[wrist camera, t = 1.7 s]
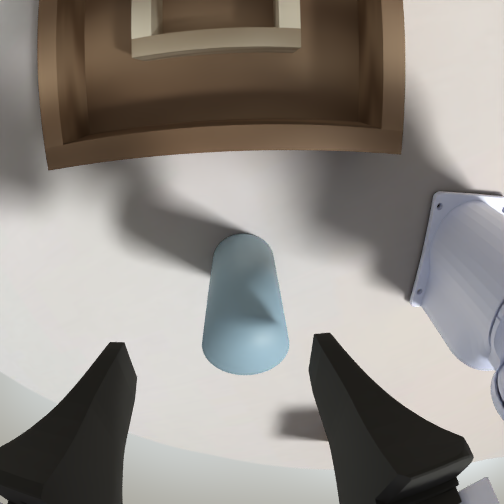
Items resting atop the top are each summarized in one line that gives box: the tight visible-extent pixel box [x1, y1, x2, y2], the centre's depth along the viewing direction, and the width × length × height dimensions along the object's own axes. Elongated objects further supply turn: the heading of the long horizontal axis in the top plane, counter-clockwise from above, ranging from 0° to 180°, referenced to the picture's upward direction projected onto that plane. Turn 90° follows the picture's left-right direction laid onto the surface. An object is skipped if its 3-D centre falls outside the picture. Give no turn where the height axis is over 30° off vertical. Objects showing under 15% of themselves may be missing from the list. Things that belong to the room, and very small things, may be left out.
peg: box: [202, 234, 289, 375], centre depth 18 cm, size 4×4×8 cm
